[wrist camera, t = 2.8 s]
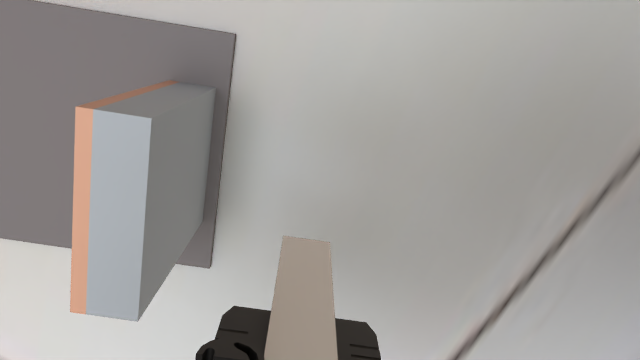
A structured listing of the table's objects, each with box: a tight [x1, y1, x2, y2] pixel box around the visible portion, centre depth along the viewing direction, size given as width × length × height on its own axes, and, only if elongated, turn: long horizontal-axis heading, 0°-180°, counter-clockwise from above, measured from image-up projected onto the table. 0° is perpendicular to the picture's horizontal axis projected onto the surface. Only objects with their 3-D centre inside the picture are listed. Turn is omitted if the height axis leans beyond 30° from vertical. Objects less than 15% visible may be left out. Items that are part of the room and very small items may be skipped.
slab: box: [70, 80, 216, 322], centre depth 24 cm, size 3×8×11 cm, turn 171°
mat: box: [0, 0, 236, 268], centre depth 29 cm, size 22×14×1 cm, turn 81°
